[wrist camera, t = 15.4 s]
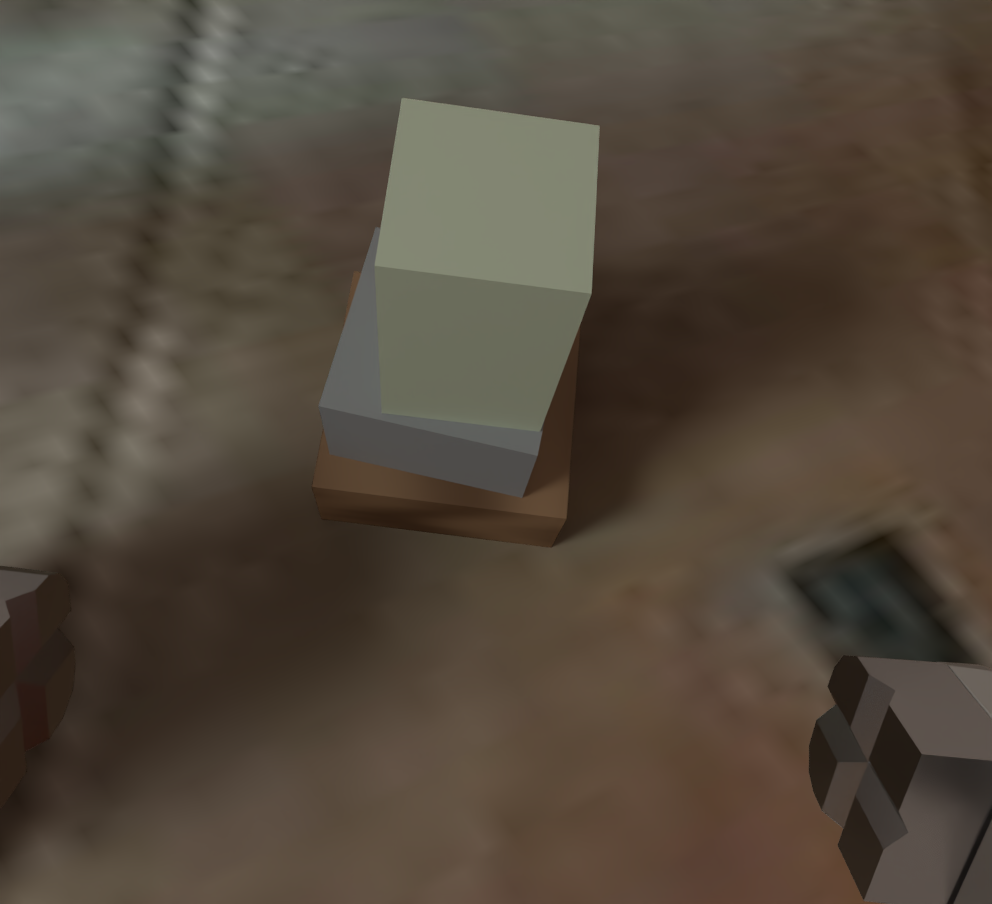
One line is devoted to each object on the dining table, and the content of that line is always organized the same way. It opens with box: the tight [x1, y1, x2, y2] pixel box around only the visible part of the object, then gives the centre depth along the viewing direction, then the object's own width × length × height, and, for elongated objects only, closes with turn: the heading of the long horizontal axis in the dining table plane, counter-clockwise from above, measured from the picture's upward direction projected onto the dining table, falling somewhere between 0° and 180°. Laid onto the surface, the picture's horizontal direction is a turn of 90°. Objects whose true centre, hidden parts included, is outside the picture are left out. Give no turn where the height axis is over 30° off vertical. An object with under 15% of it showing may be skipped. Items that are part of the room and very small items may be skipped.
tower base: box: [312, 271, 581, 548], centre depth 34 cm, size 9×9×4 cm
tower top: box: [319, 227, 545, 498], centre depth 30 cm, size 7×7×4 cm
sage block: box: [375, 98, 600, 432], centre depth 24 cm, size 5×5×8 cm
